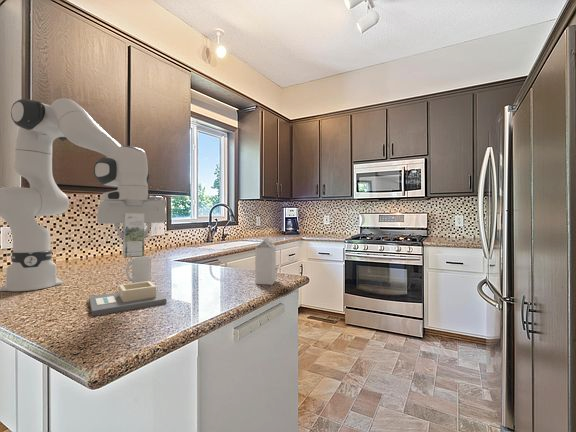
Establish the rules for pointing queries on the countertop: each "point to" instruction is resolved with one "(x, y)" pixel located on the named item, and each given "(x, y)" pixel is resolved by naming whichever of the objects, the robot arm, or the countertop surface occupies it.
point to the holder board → (127, 298)
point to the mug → (139, 269)
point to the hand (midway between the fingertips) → (133, 237)
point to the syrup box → (133, 235)
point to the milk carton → (265, 262)
